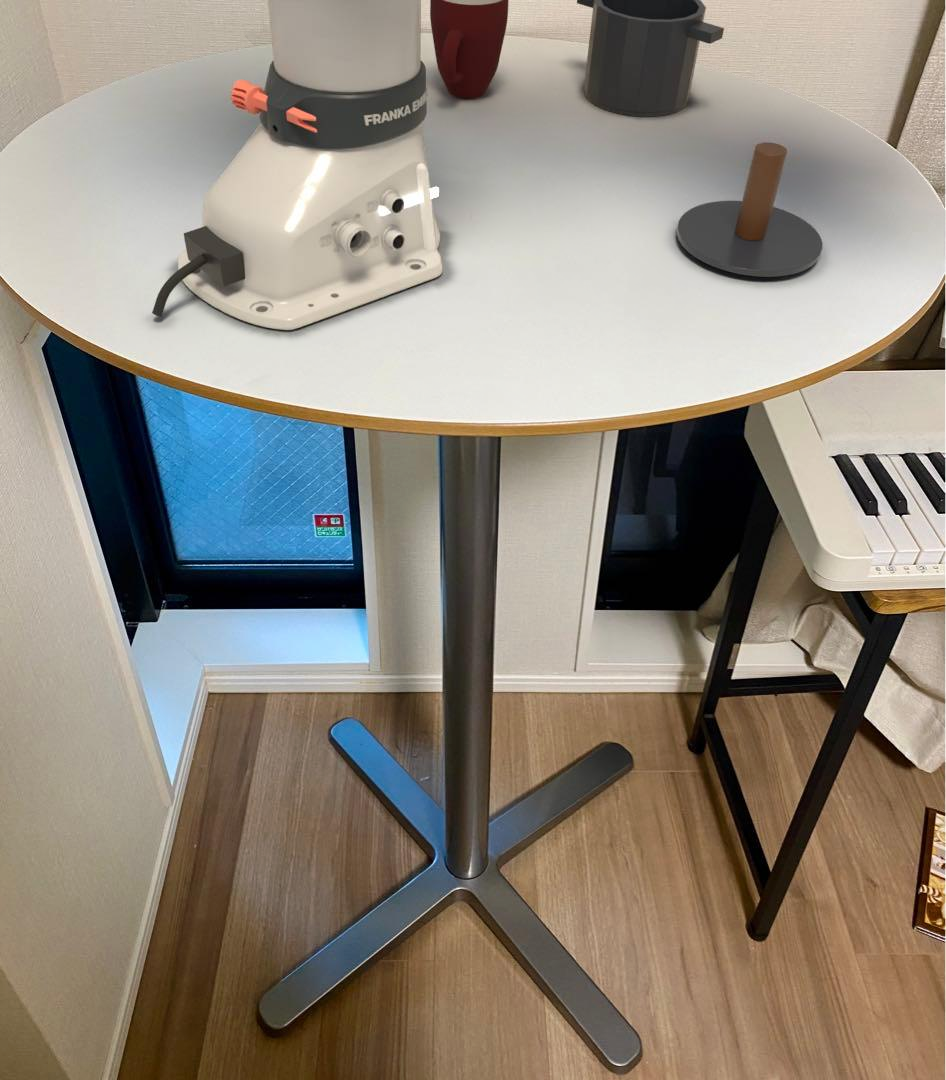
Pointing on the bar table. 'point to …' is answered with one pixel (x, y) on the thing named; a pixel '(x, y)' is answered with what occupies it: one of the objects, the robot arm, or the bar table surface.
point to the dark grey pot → (644, 54)
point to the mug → (468, 43)
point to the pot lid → (752, 226)
